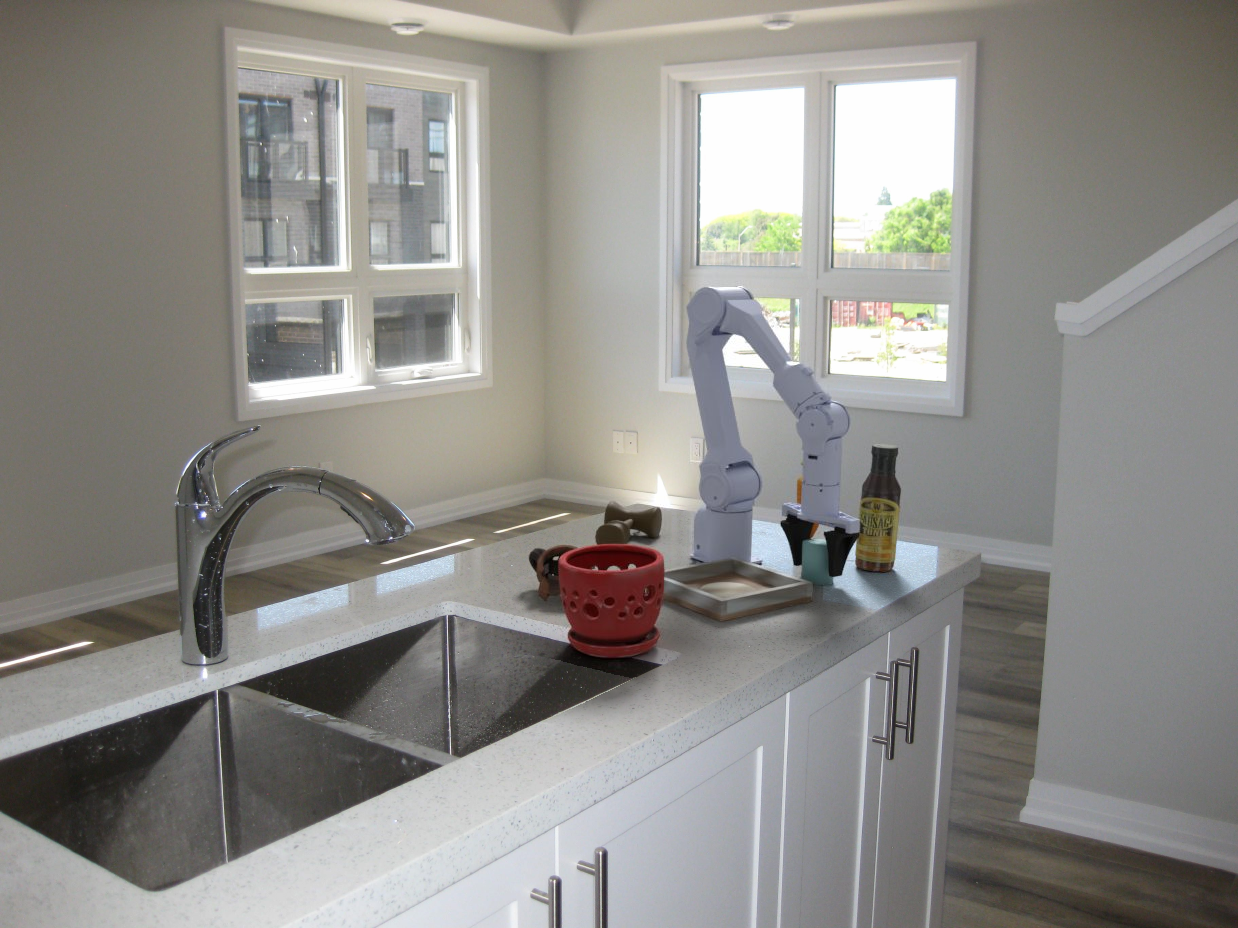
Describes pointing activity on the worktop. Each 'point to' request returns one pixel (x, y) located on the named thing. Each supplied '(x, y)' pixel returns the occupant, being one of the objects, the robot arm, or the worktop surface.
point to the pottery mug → (548, 569)
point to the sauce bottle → (879, 512)
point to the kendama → (627, 524)
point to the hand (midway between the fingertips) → (817, 570)
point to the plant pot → (612, 598)
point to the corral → (733, 588)
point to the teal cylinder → (815, 562)
